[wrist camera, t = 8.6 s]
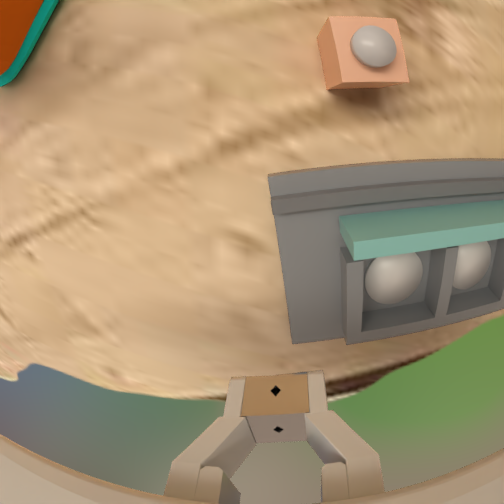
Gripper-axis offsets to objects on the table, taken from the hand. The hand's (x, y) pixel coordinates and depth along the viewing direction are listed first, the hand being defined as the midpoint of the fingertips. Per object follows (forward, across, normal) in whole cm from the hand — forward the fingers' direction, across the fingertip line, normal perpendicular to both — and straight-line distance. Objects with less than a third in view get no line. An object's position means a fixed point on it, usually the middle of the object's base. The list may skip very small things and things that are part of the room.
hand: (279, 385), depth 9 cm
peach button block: (+15, -7, -11) cm, 20 cm away
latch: (+13, -13, 0) cm, 18 cm away
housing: (+15, -13, +4) cm, 20 cm away
